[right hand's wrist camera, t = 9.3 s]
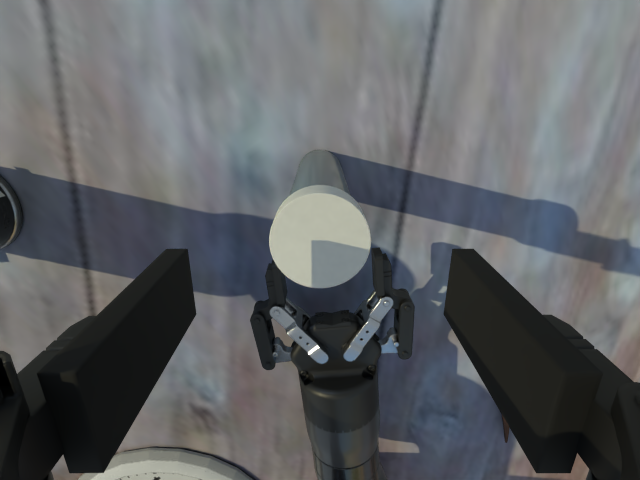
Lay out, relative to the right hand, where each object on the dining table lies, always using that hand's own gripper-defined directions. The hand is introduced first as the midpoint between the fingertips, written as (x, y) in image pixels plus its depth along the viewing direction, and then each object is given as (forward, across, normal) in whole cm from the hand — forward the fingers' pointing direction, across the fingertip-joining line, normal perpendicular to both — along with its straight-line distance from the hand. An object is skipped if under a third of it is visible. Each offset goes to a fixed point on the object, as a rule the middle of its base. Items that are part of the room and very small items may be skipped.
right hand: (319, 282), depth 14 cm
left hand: (+17, 0, +6) cm, 18 cm away
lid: (+5, 0, 0) cm, 5 cm away
